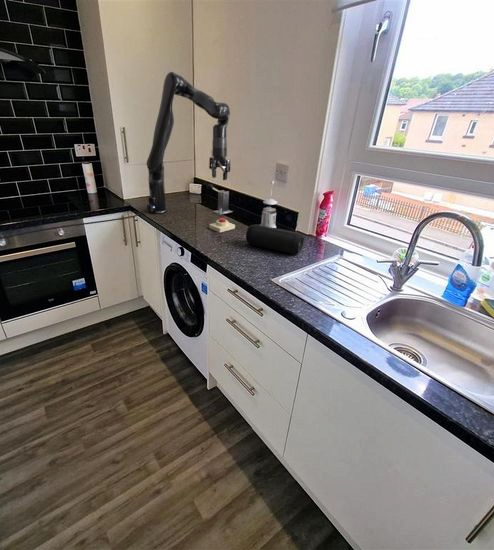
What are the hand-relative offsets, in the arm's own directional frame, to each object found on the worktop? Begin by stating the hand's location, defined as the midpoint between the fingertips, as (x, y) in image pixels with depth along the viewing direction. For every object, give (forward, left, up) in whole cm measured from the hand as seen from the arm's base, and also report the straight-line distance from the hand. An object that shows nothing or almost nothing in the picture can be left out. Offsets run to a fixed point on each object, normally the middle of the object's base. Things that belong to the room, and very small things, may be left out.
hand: (219, 178), depth 167 cm
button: (-6, -10, -21) cm, 24 cm away
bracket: (+13, +11, -24) cm, 30 cm away
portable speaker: (-5, -46, -25) cm, 52 cm away
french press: (+17, -23, -25) cm, 38 cm away
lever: (+7, +11, -11) cm, 17 cm away
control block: (-6, -10, -24) cm, 27 cm away
